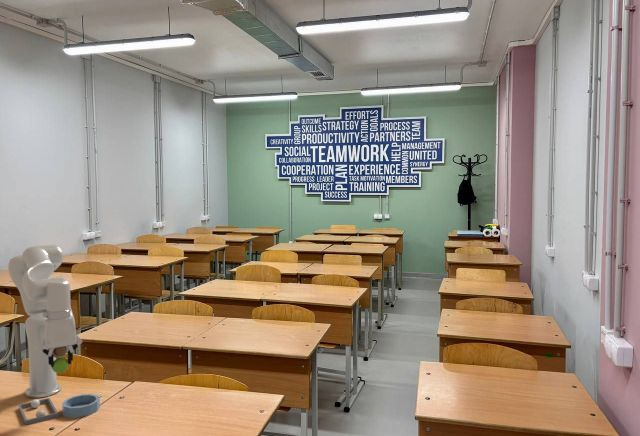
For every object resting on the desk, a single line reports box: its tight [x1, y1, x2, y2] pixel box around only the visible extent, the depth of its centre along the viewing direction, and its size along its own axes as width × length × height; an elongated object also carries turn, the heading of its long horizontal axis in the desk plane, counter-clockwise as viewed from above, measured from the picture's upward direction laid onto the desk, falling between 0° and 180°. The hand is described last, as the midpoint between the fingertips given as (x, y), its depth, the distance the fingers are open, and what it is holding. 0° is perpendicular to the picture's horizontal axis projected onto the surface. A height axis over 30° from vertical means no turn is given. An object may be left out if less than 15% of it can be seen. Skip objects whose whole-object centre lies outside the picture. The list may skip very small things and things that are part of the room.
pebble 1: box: [30, 398, 41, 409], centre depth 188 cm, size 3×3×3 cm
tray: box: [18, 397, 59, 426], centre depth 183 cm, size 16×10×2 cm, turn 38°
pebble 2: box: [35, 409, 46, 418], centre depth 179 cm, size 3×3×3 cm
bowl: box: [61, 393, 101, 419], centre depth 186 cm, size 12×12×4 cm
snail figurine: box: [52, 346, 70, 374], centre depth 183 cm, size 5×6×12 cm
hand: (60, 364), depth 183 cm, fingers closed on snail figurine, 5 cm apart
